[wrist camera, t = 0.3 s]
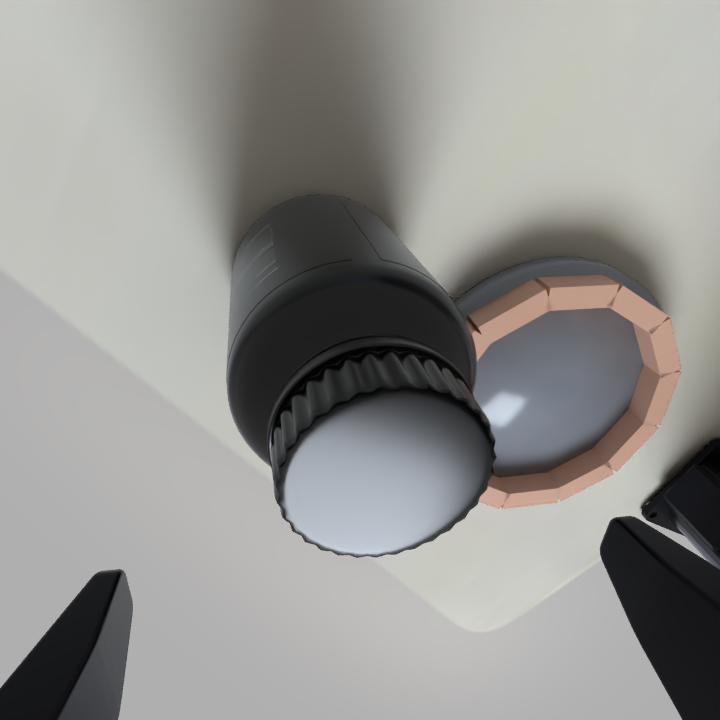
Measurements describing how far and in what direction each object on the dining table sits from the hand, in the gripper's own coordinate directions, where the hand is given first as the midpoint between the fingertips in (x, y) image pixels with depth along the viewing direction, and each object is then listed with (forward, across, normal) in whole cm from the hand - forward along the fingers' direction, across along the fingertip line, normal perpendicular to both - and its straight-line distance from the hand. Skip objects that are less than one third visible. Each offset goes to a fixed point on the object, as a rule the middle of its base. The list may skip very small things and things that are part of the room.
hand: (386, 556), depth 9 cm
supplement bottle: (+14, 0, 0) cm, 14 cm away
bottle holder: (+14, -11, +5) cm, 18 cm away
